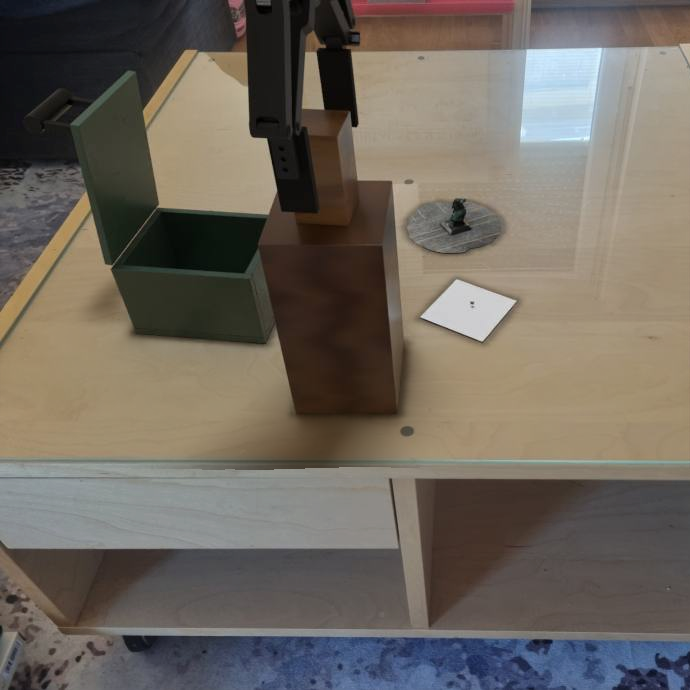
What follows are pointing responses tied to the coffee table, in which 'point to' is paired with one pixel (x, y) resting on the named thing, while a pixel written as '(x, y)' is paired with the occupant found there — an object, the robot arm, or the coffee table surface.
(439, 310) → the coaster
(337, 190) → the block
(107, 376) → the coffee table surface
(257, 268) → the green box
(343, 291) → the plinth
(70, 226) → the coffee table surface
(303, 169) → the robot arm
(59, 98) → the box lid
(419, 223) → the sculpture
